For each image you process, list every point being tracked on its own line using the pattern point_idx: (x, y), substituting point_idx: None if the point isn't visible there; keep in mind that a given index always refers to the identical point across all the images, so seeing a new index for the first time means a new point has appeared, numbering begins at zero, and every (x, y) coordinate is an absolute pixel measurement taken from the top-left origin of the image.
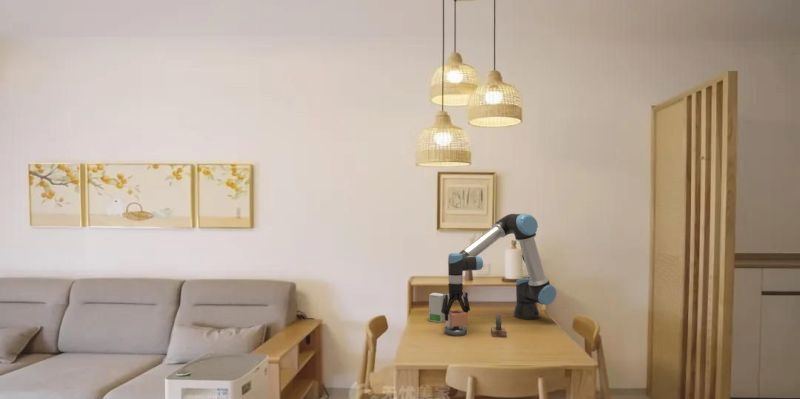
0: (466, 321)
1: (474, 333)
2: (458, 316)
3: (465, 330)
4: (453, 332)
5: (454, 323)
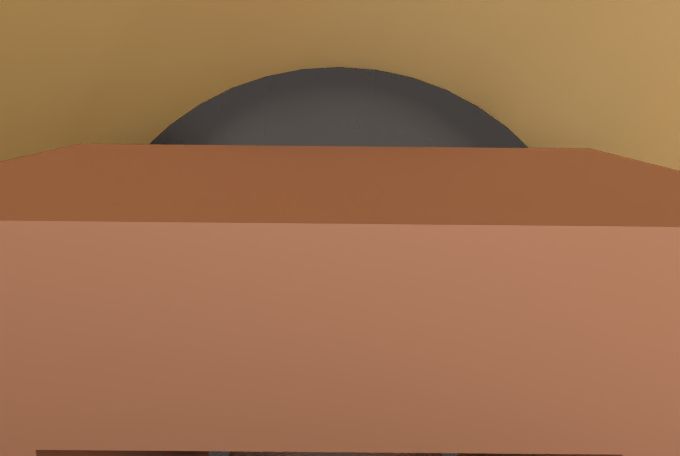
0: (87, 154)
1: (12, 112)
2: (458, 200)
3: (224, 92)
4: (518, 145)
5: (577, 159)
